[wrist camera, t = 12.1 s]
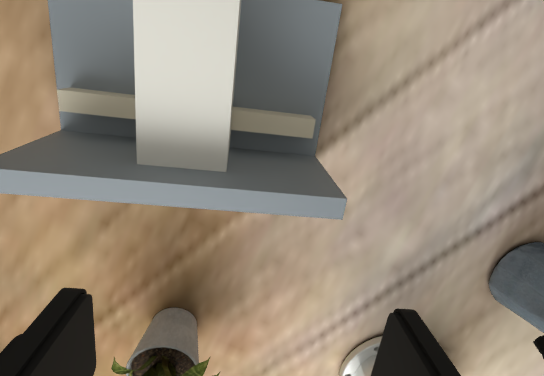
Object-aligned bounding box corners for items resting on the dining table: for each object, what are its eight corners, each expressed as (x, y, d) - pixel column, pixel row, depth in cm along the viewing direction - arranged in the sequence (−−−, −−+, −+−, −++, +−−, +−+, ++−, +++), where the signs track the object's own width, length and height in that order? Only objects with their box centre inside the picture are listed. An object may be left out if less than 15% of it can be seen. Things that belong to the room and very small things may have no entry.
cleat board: (337, 6, 27) (398, -26, 17) (309, 166, 32) (342, 219, 22) (54, -39, 24) (-90, -114, 14) (71, 143, 29) (-25, 191, 19)
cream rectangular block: (243, -21, 25) (243, -48, 18) (229, 146, 29) (226, 172, 23) (161, -34, 24) (131, -68, 17) (160, 140, 29) (136, 164, 22)
